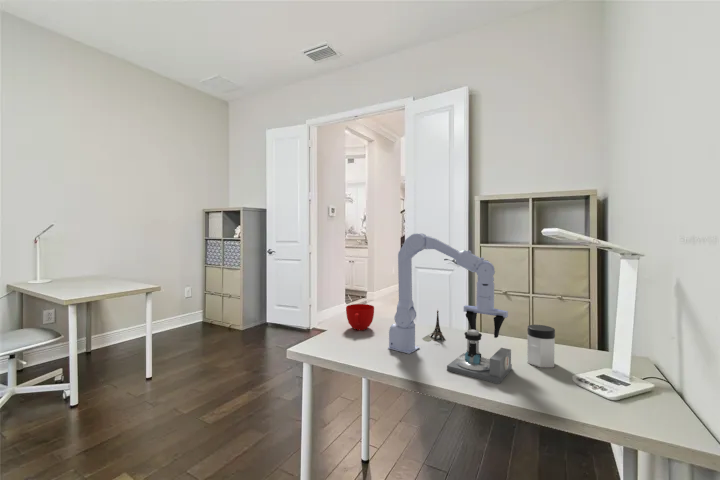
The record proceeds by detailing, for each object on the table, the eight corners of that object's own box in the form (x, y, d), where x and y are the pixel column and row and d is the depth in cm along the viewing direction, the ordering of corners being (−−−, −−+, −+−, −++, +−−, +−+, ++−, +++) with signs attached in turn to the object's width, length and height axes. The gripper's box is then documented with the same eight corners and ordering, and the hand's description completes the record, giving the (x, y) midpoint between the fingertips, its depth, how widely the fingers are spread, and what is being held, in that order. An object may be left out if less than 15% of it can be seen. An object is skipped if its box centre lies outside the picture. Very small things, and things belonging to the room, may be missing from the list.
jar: (547, 358, 118) (547, 324, 117) (561, 368, 109) (561, 331, 109) (521, 358, 118) (521, 324, 117) (533, 367, 110) (533, 331, 109)
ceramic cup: (341, 334, 146) (341, 311, 146) (349, 324, 163) (349, 303, 163) (371, 335, 144) (371, 312, 144) (375, 325, 161) (375, 304, 160)
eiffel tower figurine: (433, 333, 150) (433, 303, 149) (455, 337, 143) (455, 306, 143) (417, 342, 138) (417, 309, 137) (440, 347, 131) (440, 313, 131)
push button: (487, 361, 110) (488, 331, 109) (482, 366, 105) (483, 335, 105) (467, 357, 114) (467, 327, 113) (462, 362, 109) (462, 331, 109)
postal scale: (446, 370, 108) (447, 350, 108) (463, 357, 119) (463, 339, 119) (500, 384, 98) (501, 362, 97) (513, 369, 109) (513, 349, 108)
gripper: (510, 296, 115) (510, 336, 116) (468, 292, 124) (468, 328, 125) (504, 299, 110) (504, 341, 110) (461, 294, 119) (461, 333, 119)
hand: (484, 334), depth 117 cm, fingers open, 7 cm apart
